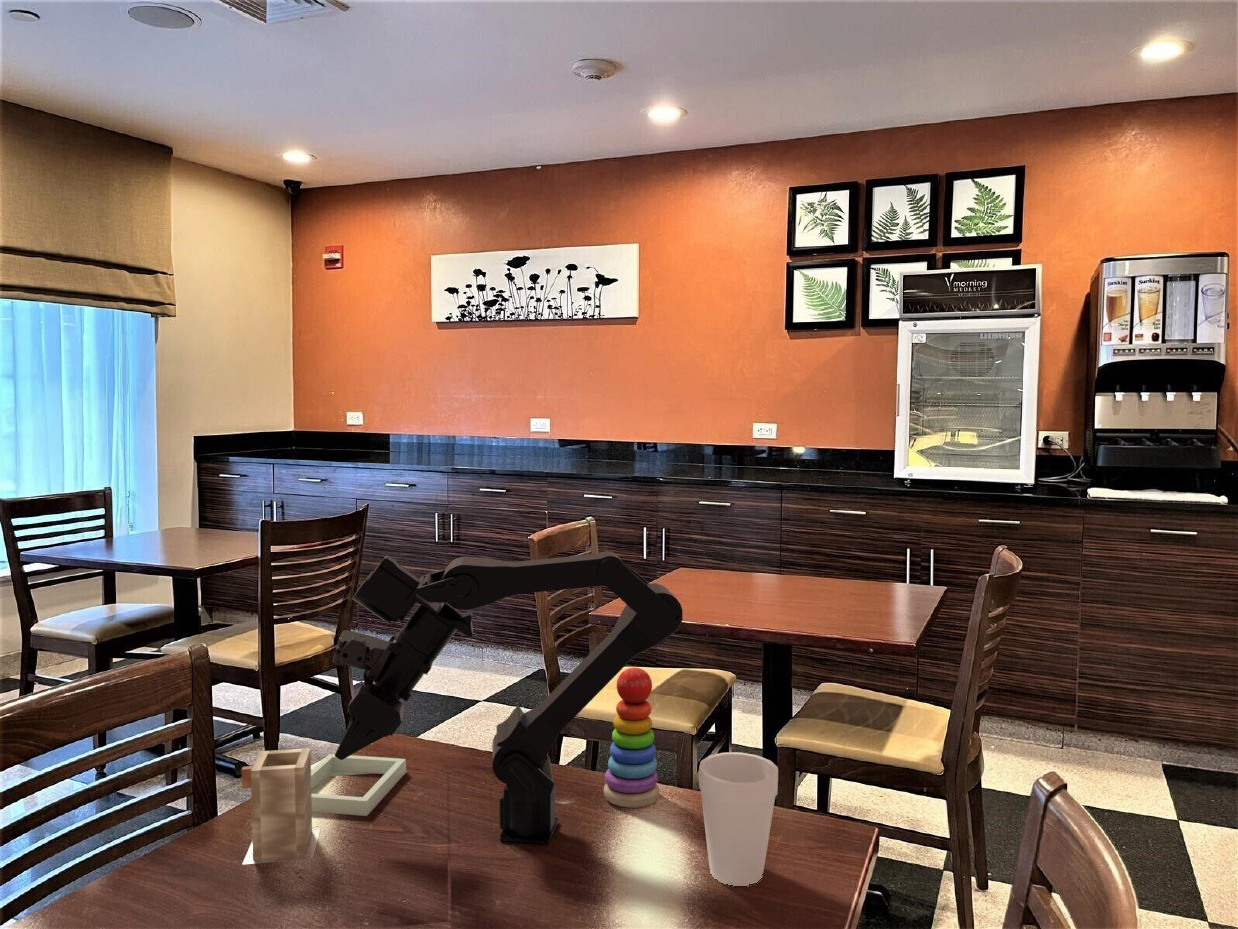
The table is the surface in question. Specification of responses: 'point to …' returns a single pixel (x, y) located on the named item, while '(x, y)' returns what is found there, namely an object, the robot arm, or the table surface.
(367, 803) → the green tray
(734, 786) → the foam cup
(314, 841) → the stand
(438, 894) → the table surface
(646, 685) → the stacking toy
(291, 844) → the birch sleeve
